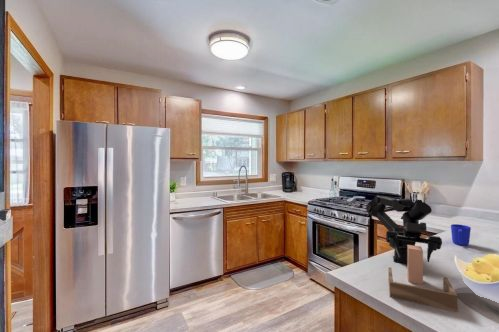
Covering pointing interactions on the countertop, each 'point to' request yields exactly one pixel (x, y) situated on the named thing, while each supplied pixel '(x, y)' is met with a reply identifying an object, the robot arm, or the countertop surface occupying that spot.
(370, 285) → the countertop surface
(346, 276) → the countertop surface
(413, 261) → the block
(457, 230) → the mug
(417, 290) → the brown u-shaped piece
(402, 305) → the countertop surface
